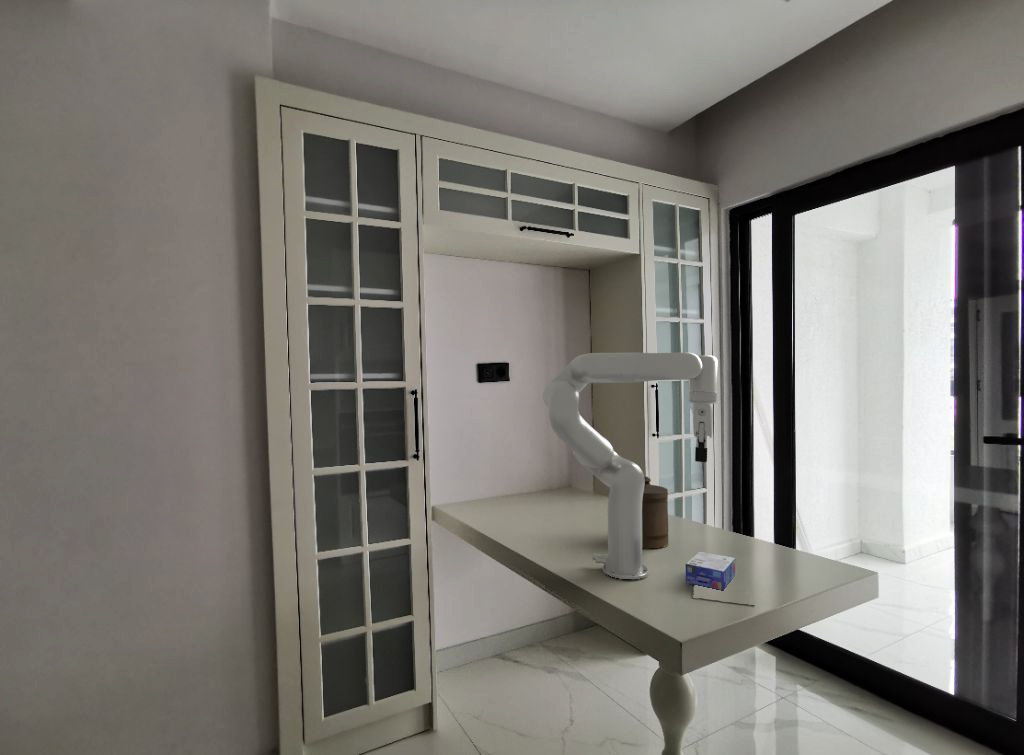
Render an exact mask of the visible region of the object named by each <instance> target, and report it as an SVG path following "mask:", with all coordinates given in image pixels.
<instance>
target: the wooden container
mask: <svg viewBox="0 0 1024 755" xmlns="http://www.w3.org/2000/svg"><path fill="white" fill-rule="evenodd" d="M644 479H645V485H644V492H643V500H642V548H659V549H661V548H660V547H664V546H666V545H668V546H669V511H668V510H669V509H668V508H669V507H668V505H669V504H668V499H669V498H668V497H669V492H668V488H666V487H664V486H661V485H655V484H651V481H652V479H651V478H650V477H649V476H645V475H644ZM666 547H667V546H666ZM664 548H665V547H664Z"/></svg>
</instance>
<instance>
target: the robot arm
mask: <svg viewBox="0 0 1024 755" xmlns="http://www.w3.org/2000/svg"><path fill="white" fill-rule="evenodd" d="M718 364H719V363H718V359H717V357H715V355H709V354H708V355H705V354H703V355H699V354H698V355H697V354H695V353H693V352H591V353H584V354H579V355H577V356H576V357H575V358H573V359H572V360H570V361H569V363H568V364H567V365H566V366H565V367H564V368H563V369H562V370H561V371H560V372H559V373H558V374H557V375H556V376H554V377H553V379H552V380H550V381H549V382H548V383H547V385H546V386H545V387H544V389H543V392H542V400H543V402H544V404H545V406H546V407H548V417H549V419H548V420H549V423H550V427H551V428H552V430H553V432H554V433H555V435H556V436H557V437H558V438H559V439H560V440H561V441H562V442H563V443H564V444H565V445H566V446H567V447H568V448H569V449H570V450H571V451H572V452H573V453H572V454H573V456H574V458H575V459H576V460H577V461H578V462H579V463H580V465H582V466H583V467H584V468H585V469H587V470H588V472H590V473H591V474H592V475H594V476H595V477H596V478H597V479H598V480H599V481H600V482H601V483H602V484H604V485H605V486H606V487H608V488H609V493H608V500H607V552H606V553H604V554H600V553H593V554H592V561H595V563H596V564H602V570H601V571H602V573H603V574H604V575H606V574H607V575H606V576H608V575H609V576H608V577H610V576H611V577H610V578H612V577H615V578H614V579H616V578H619V579H618V580H622V579H638V580H641V579H640V578H642V579H644V578H643V577H645V576H646V577H648V575H649V569H648V567H647V566H645V565H644V564H643V549H642V500H643V492H644V485H645V479H644V477H645V474H644V471H643V470H642V469H641V467H640V466H639V465H638V464H637V463H635V462H634V461H631V460H629V459H627V458H624V457H622V456H621V455H619V454H618V453H617V452H616V451H615V450H614V447H613V445H612V444H611V442H610V441H609V440H608V439H607V438H605V437H604V436H603V435H602V434H601V433H599V432H598V431H597V430H596V429H594V428H593V426H591V425H590V424H589V423H588V422H587V421H586V420H585V419H584V418H583V416H581V414H580V411H579V402H580V393H581V392H582V391H583V389H585V387H587V386H588V384H609V383H610V384H612V383H613V384H614V383H615V384H618V383H623V384H624V383H644V382H652V381H685V380H689V383H688V385H689V386H688V403H692V427H693V428H692V429H693V430H692V431H693V436H694V438H696V439H695V440H696V442H695V443H696V444H695V451H694V454H695V455H694V461H695V462H698V463H707V462H708V447H707V444H708V443H707V441H708V437H709V439H712V438H713V424H714V423H713V419H714V413H713V412H714V409H713V408H714V407H713V405H714V404H715V405H716V404H717V402H718V401H717V400H718V399H717V398H718V396H717V395H718V394H717V393H718ZM646 577H645V578H646Z"/></svg>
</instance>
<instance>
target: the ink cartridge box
mask: <svg viewBox="0 0 1024 755" xmlns="http://www.w3.org/2000/svg"><path fill="white" fill-rule="evenodd" d="M735 577H736V557H730V556H725V555H721V554H720V555H719V554H715V553H710V552H709V553H708V552H704V551H699V552H697V553H696V554H695V555H694V556H692V558H691V559H690V560H688V561H687V562H686V563H685V583H686V584H690V585H693V584H694V585H698V586H703V587H707V588H712V589H716V590H721V591H724V589H725V588H726V587H727V585H728V584H729V583H730V582H731V580H732V579H733V578H735Z"/></svg>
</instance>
